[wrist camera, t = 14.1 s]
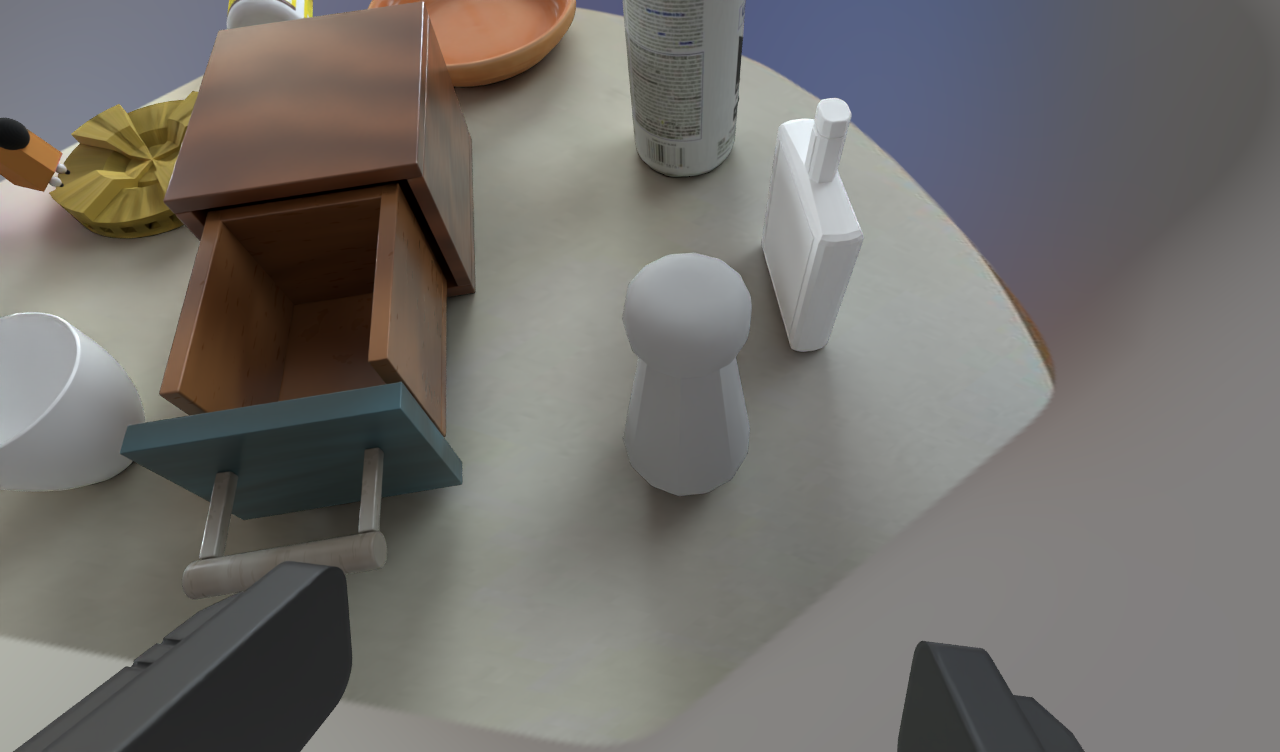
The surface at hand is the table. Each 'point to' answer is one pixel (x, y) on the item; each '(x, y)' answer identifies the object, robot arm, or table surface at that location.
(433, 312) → the drawer
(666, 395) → the salt shaker
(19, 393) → the cup
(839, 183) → the perfume bottle
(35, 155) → the toy
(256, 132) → the cabinet
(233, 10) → the supplement bottle
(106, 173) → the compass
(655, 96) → the spray can
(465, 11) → the saucer
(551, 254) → the table surface
